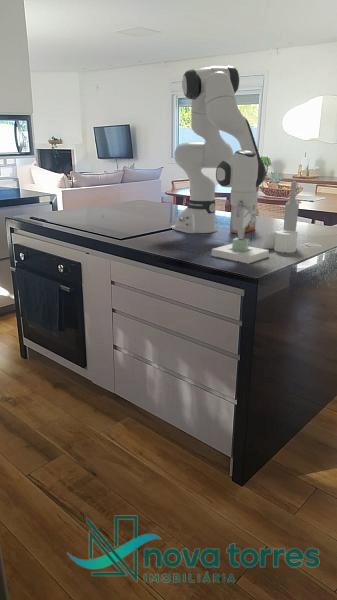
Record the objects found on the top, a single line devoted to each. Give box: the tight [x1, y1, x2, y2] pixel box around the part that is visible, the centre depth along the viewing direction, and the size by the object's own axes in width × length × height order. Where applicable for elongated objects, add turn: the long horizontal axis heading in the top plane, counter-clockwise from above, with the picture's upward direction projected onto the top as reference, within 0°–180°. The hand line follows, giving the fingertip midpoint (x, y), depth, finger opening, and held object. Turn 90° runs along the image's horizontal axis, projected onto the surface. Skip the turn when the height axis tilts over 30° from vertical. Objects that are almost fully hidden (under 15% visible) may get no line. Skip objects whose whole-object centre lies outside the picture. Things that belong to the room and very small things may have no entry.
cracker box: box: [229, 185, 260, 235], centre depth 204 cm, size 14×6×21 cm, turn 140°
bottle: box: [283, 181, 300, 232], centre depth 175 cm, size 5×5×25 cm
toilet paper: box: [262, 229, 299, 254], centre depth 171 cm, size 8×11×7 cm
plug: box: [231, 237, 250, 253], centre depth 162 cm, size 5×4×6 cm
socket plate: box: [211, 243, 270, 264], centre depth 163 cm, size 16×13×2 cm
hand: (240, 238), depth 161 cm, fingers closed
